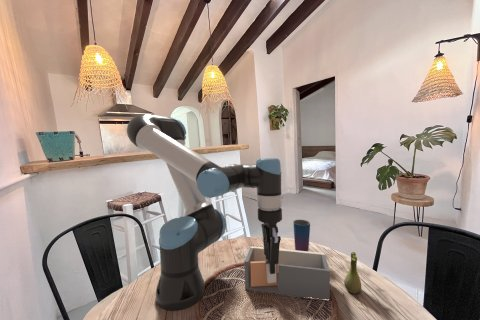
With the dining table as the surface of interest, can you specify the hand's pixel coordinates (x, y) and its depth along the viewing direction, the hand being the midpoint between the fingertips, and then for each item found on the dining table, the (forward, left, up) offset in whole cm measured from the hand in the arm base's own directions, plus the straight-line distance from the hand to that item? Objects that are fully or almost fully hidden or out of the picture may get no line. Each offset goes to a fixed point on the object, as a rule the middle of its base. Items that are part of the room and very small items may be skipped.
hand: (271, 281), depth 67 cm
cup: (+10, +26, -5) cm, 28 cm away
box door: (-3, +2, -3) cm, 5 cm away
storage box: (+4, +6, -4) cm, 9 cm away
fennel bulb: (+25, +8, -5) cm, 27 cm away
